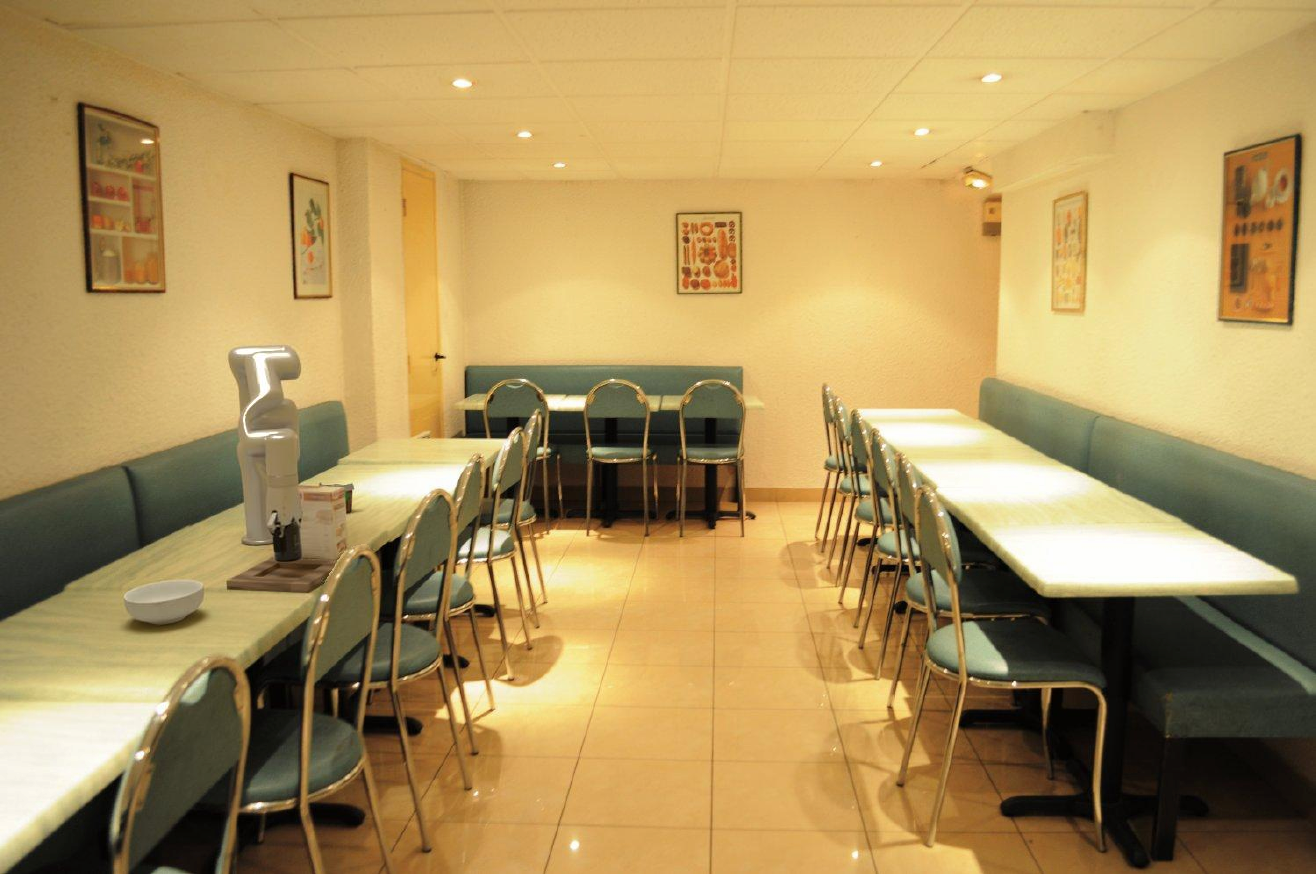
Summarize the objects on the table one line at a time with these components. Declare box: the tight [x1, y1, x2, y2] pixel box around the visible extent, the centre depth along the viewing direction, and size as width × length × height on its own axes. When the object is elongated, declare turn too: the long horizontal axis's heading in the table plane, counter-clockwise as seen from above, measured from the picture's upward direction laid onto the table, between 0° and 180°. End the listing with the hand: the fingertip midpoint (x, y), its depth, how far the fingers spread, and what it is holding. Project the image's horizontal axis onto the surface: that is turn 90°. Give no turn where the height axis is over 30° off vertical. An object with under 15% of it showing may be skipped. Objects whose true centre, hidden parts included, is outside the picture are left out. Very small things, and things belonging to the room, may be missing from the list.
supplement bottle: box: [273, 516, 303, 562], centre depth 269 cm, size 7×7×12 cm
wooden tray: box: [225, 557, 338, 594], centre depth 270 cm, size 22×22×2 cm
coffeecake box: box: [298, 484, 349, 560], centre depth 291 cm, size 15×7×20 cm, turn 74°
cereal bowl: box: [123, 579, 205, 625], centre depth 239 cm, size 17×17×7 cm
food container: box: [318, 482, 355, 515], centre depth 342 cm, size 12×6×10 cm, turn 81°
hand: (287, 547), depth 269 cm, fingers closed on supplement bottle, 6 cm apart
